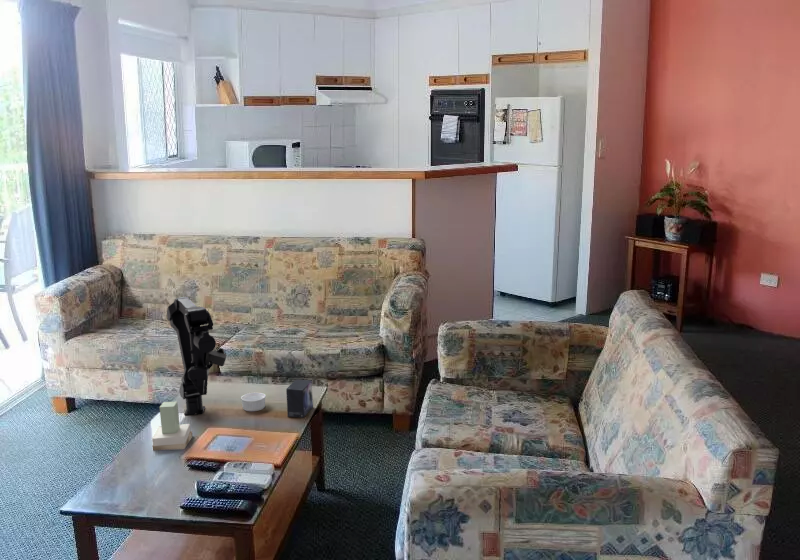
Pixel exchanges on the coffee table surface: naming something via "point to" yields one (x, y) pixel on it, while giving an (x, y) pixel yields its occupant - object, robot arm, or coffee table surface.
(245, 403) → the ramekin
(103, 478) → the coffee table surface
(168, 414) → the sage block
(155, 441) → the tower top slab
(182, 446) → the tower base slab
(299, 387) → the small box
